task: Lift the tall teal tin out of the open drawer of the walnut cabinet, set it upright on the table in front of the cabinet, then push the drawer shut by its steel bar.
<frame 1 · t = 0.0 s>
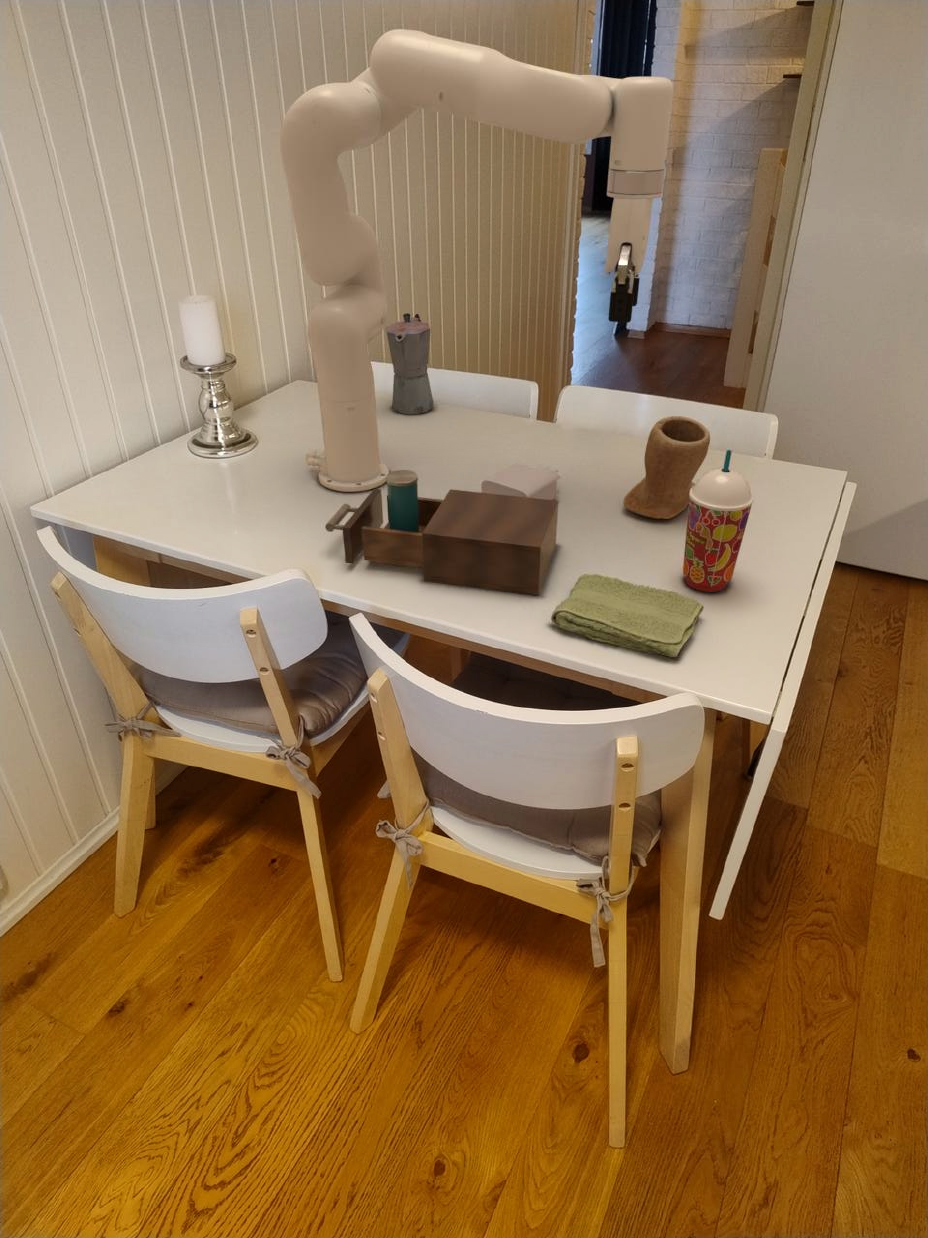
hand: (622, 313, 124), 31 cm above the table, tool pointing down, fingers open, 9 cm apart
cabinet: (491, 563, 125), on the table
moka pot: (412, 407, 182), on the table
washcloth: (626, 623, 112), on the table
charger: (528, 497, 144), on the table
smoothie: (705, 583, 120), on the table
tin: (405, 540, 127), point 2 cm above the table, touching drawer
drawer: (395, 528, 126), point 4 cm above the table, slide at 11.0 cm, touching tin
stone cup: (665, 506, 141), on the table
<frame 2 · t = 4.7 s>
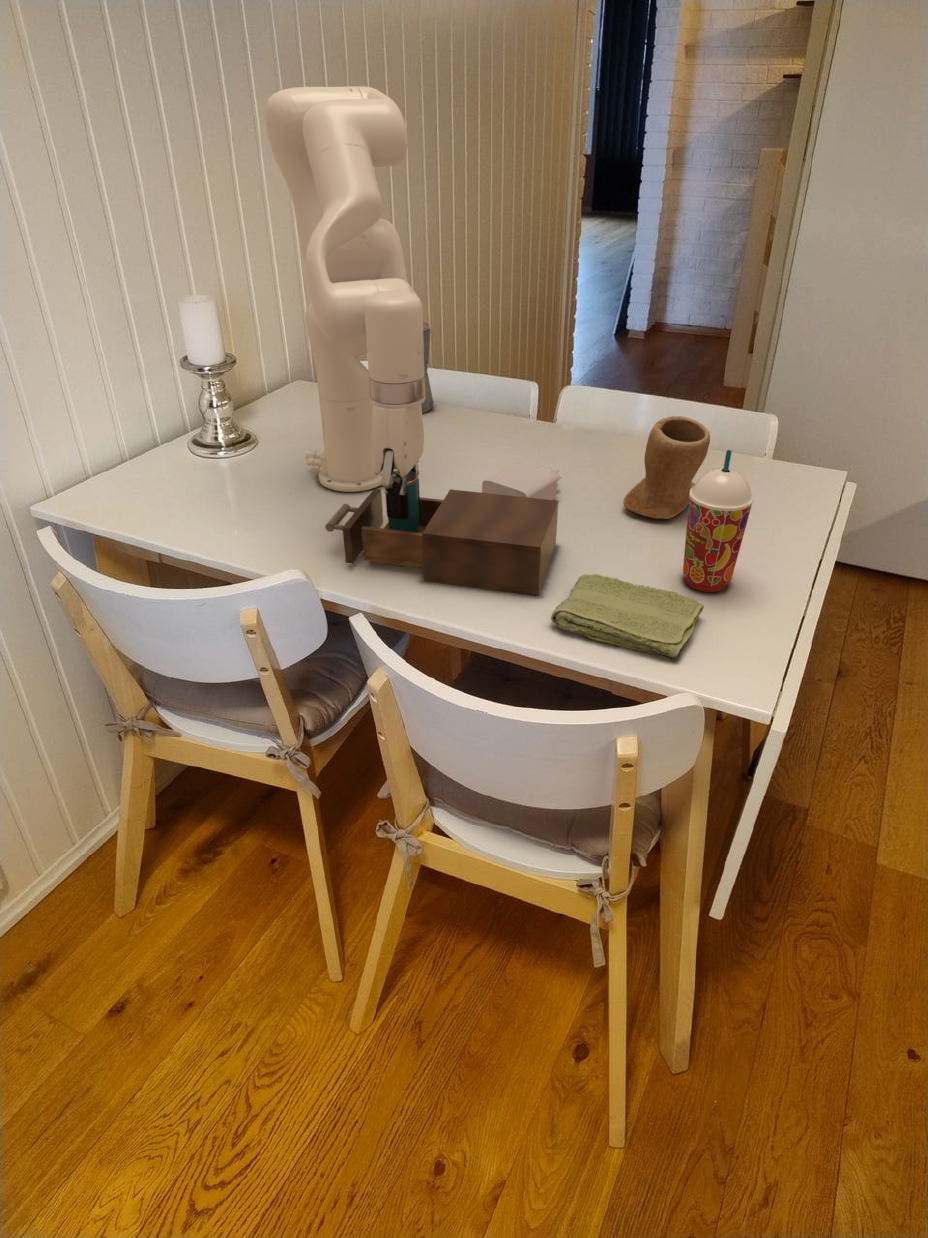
hand: (403, 508, 124), 7 cm above the table, tool pointing down, fingers closed on tin, 4 cm apart
tin: (405, 540, 127), point 2 cm above the table, touching drawer, gripper
everything else where it was.
when the fingers open (5 cm above the table, at t = 13.2 s): tin stays where it is, on the table.
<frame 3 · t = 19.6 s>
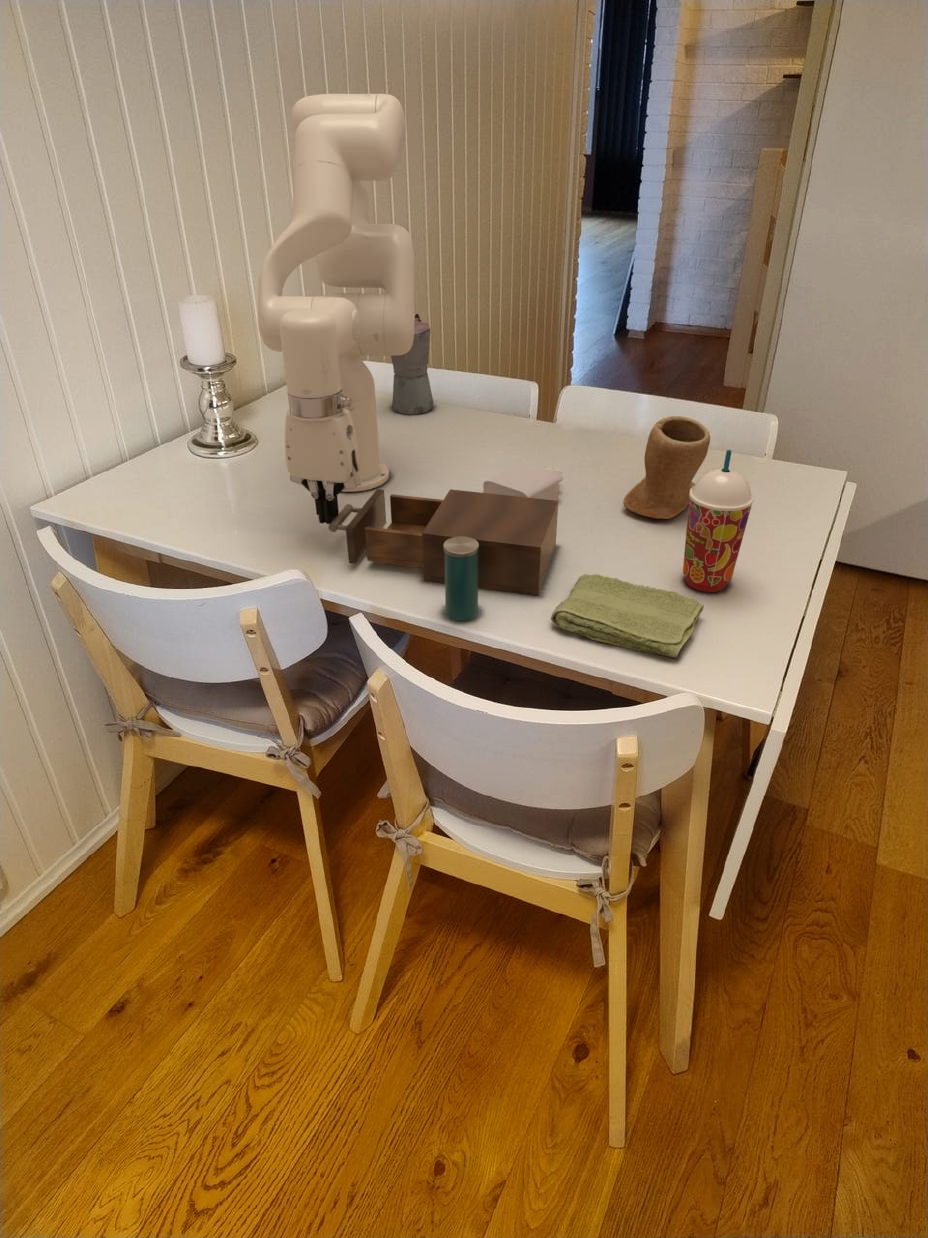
hand: (328, 519, 128), 4 cm above the table, tool pointing down, fingers closed
tin: (461, 612, 114), on the table
drawer: (399, 529, 126), point 4 cm above the table, slide at 10.5 cm, touching gripper
everything else where it was.
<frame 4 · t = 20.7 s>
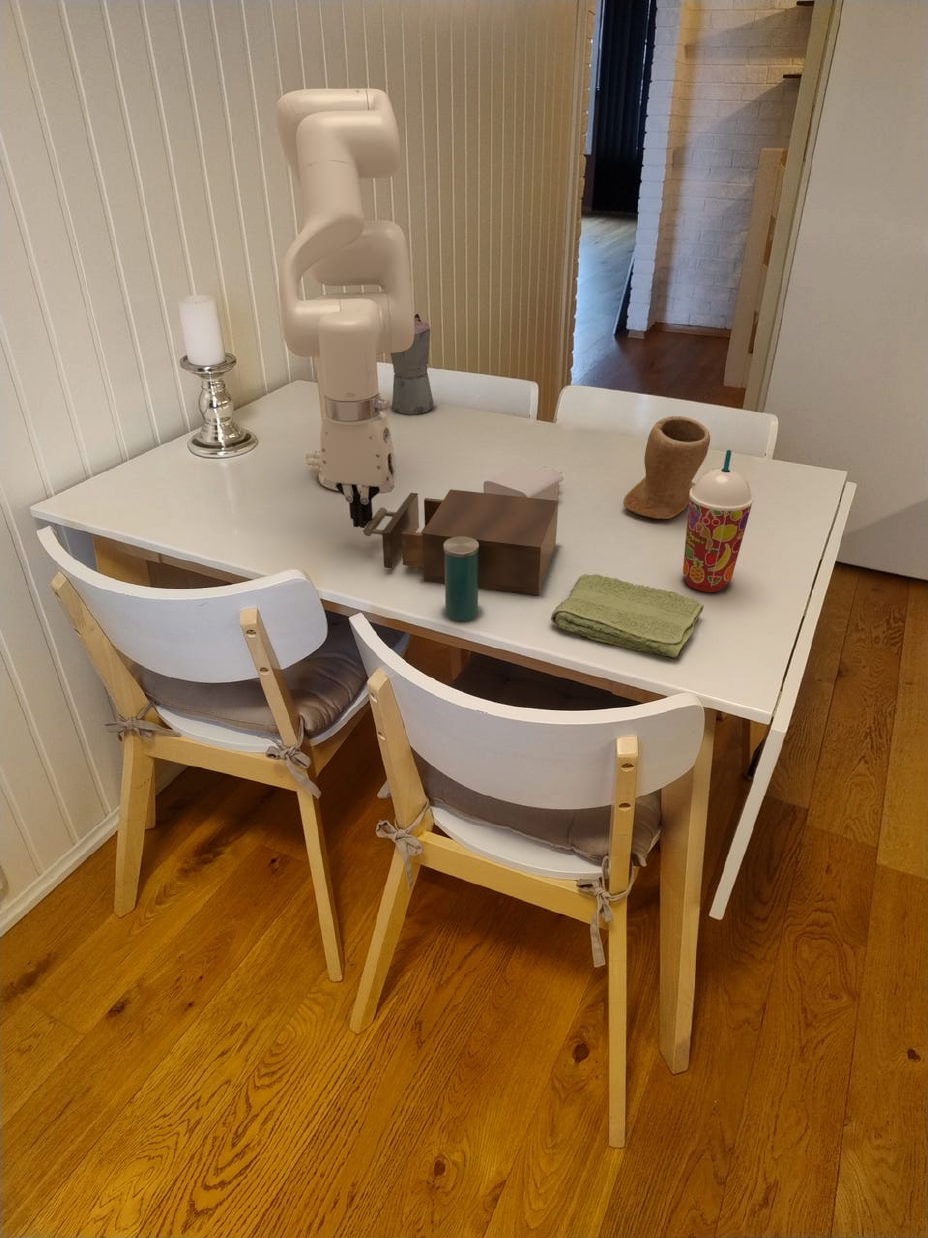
hand: (362, 523, 127), 4 cm above the table, tool pointing down, fingers closed
drawer: (434, 533, 125), point 4 cm above the table, slide at 5.0 cm, touching gripper
everything else where it was.
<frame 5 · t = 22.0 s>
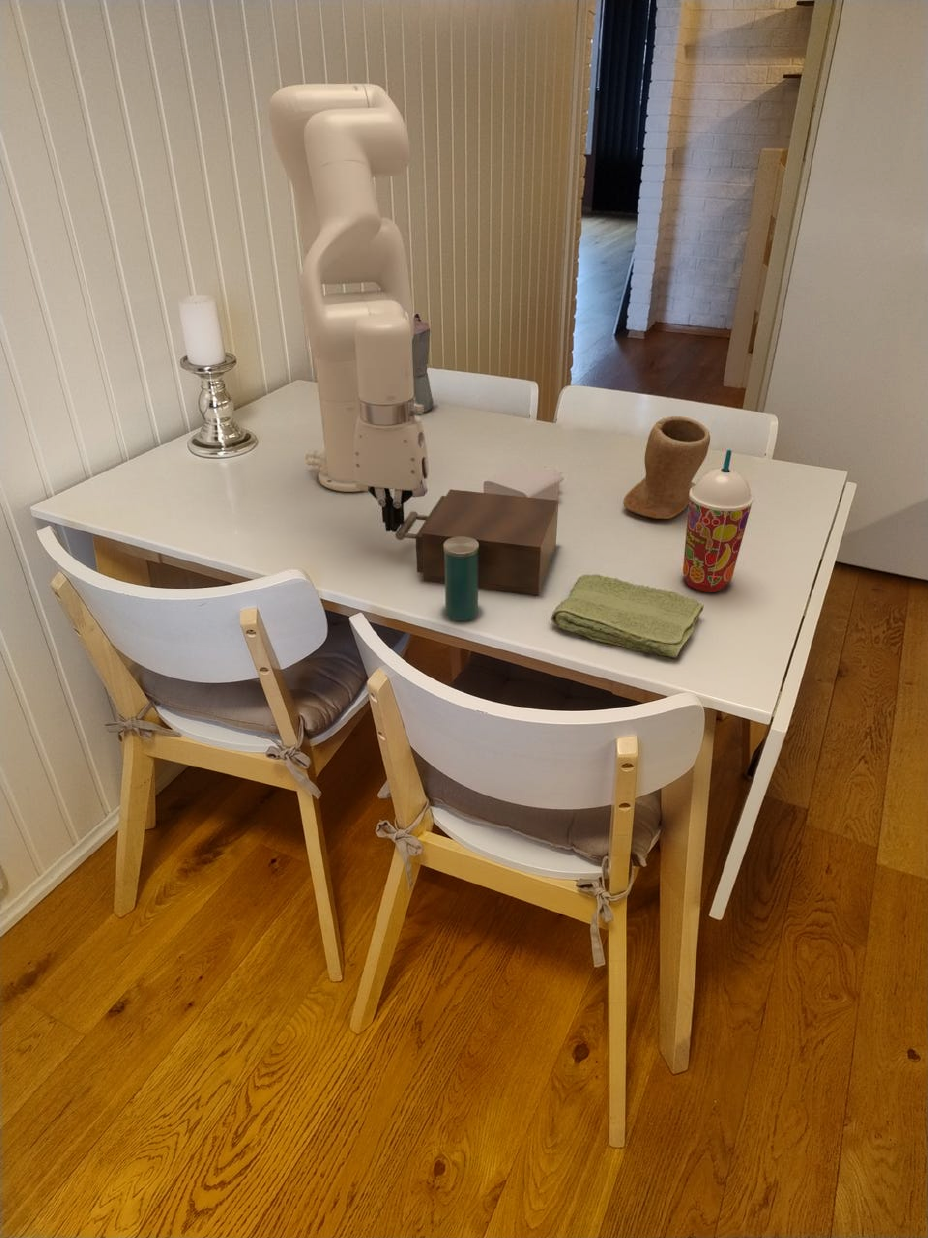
hand: (393, 527, 126), 4 cm above the table, tool pointing down, fingers closed
drawer: (466, 537, 124), point 4 cm above the table, slide at 0.0 cm, touching cabinet, gripper
everything else where it was.
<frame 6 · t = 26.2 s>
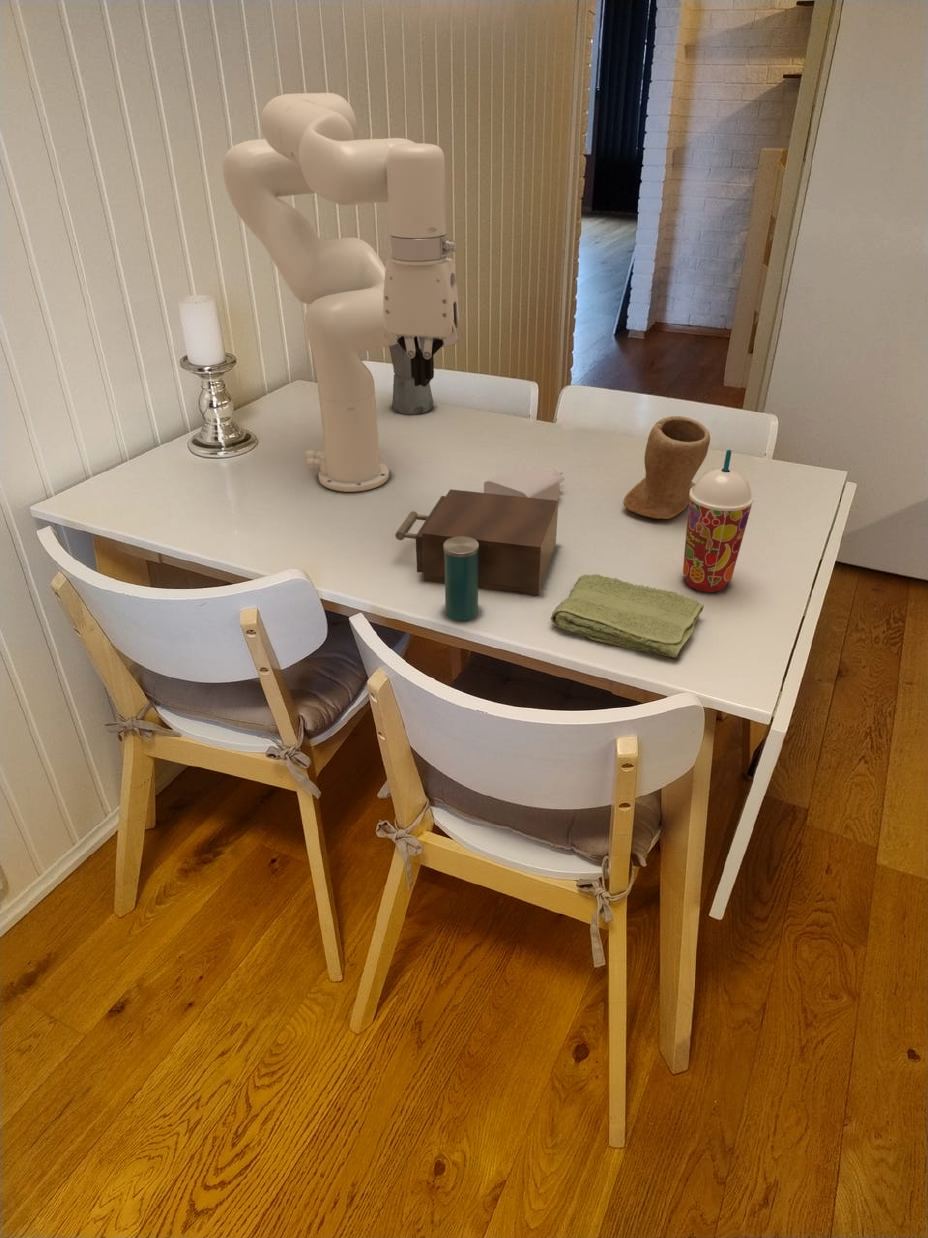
hand: (422, 383, 123), 23 cm above the table, tool pointing down, fingers closed
drawer: (466, 537, 124), point 4 cm above the table, slide at 0.0 cm
everything else where it was.
at the end: tin inside the target area (0.6 cm from its centre), on the table; tin tilted 0°; drawer slide at 0.0 cm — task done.
